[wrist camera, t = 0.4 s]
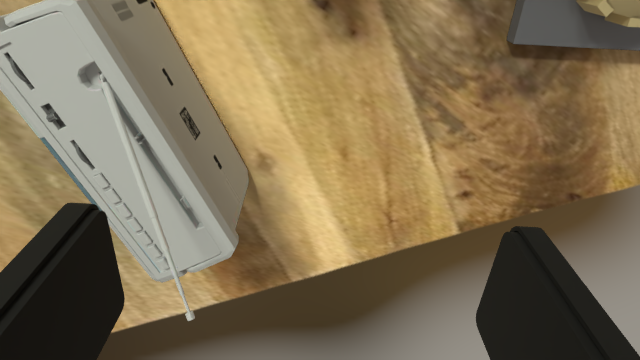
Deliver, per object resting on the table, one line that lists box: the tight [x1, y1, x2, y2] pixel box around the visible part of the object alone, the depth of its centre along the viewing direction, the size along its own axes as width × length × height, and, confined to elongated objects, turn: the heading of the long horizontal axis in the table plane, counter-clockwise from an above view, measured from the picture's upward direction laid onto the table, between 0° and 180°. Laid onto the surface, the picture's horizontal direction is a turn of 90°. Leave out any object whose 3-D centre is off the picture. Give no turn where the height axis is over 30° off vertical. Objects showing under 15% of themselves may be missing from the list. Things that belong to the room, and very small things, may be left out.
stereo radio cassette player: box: [0, 0, 249, 321], centre depth 31 cm, size 21×8×20 cm, turn 22°
